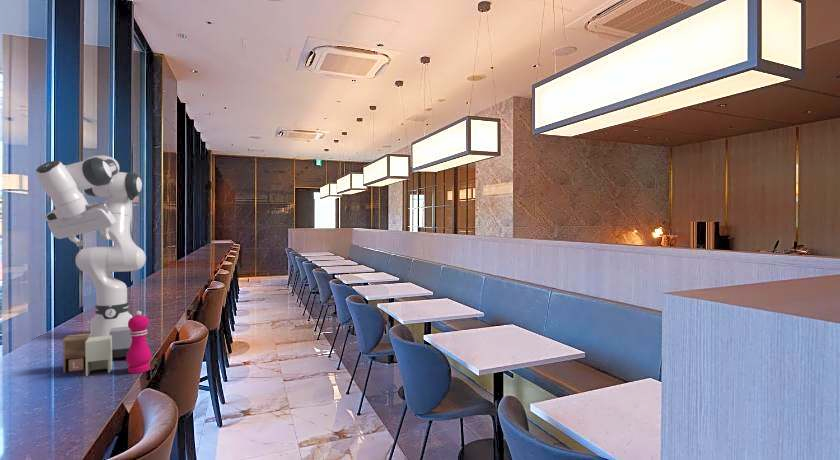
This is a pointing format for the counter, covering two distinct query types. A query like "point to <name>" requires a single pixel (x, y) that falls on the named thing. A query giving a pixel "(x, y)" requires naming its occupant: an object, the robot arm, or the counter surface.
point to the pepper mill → (138, 345)
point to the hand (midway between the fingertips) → (94, 242)
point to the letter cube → (76, 364)
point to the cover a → (74, 348)
